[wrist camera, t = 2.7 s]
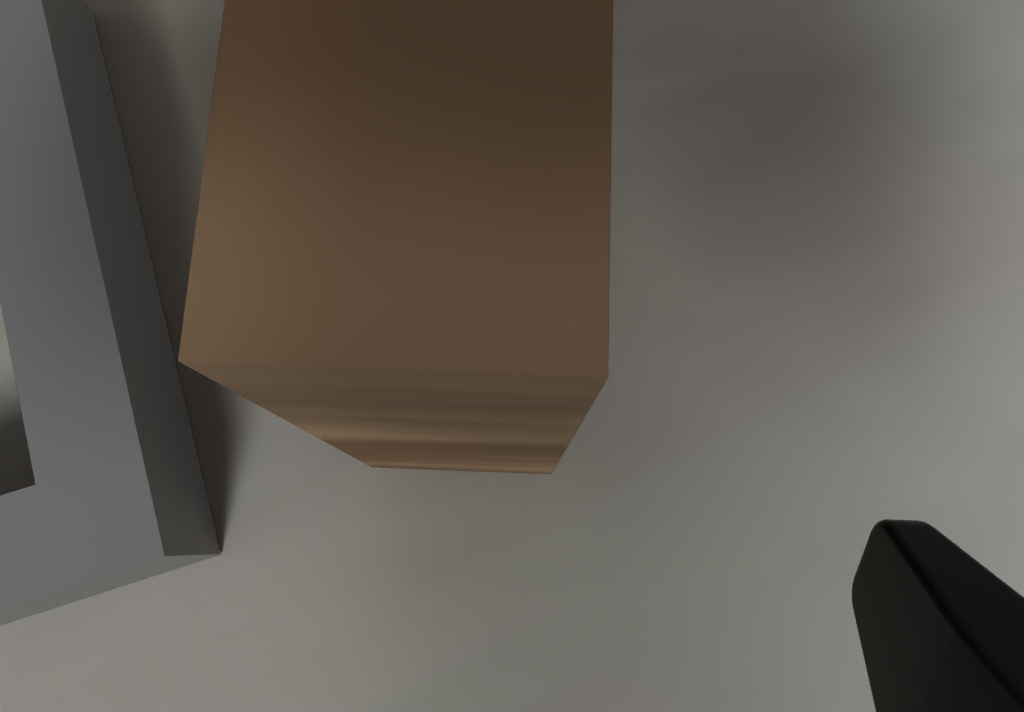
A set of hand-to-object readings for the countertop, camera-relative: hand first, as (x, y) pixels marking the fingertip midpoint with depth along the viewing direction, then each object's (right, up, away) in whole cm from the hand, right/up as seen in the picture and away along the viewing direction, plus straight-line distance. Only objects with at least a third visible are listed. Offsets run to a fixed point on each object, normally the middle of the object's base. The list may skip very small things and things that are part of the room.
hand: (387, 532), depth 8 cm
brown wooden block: (0, +1, +11) cm, 11 cm away
